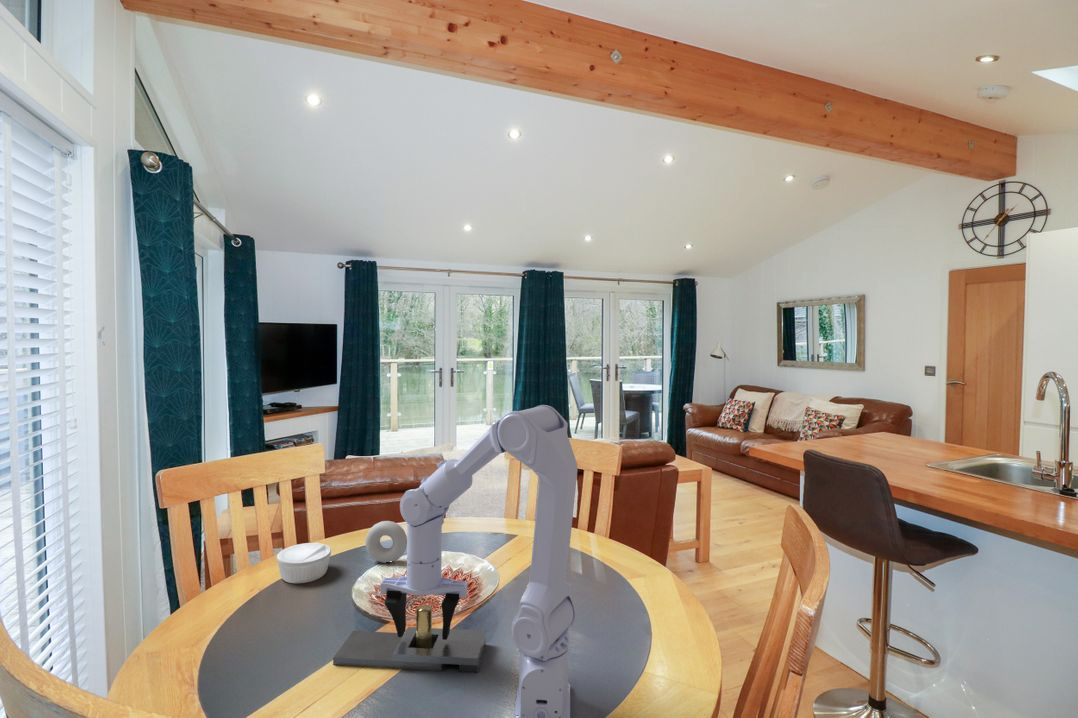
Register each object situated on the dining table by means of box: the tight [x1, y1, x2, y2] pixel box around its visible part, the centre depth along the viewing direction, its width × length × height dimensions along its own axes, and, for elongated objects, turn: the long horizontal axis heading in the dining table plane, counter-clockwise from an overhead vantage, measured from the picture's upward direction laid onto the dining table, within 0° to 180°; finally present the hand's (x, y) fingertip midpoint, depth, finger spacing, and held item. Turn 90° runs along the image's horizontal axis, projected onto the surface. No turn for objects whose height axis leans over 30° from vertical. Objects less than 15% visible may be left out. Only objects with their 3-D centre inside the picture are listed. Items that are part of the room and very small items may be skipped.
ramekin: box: [276, 542, 332, 584], centre depth 119 cm, size 11×11×5 cm
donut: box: [365, 520, 407, 564], centre depth 126 cm, size 10×4×10 cm, turn 87°
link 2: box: [393, 626, 487, 674], centre depth 90 cm, size 8×14×2 cm, turn 86°
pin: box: [415, 604, 433, 649], centre depth 90 cm, size 3×3×8 cm
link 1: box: [332, 630, 444, 672], centre depth 90 cm, size 8×18×1 cm, turn 86°
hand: (423, 635), depth 90 cm, fingers open, 7 cm apart
